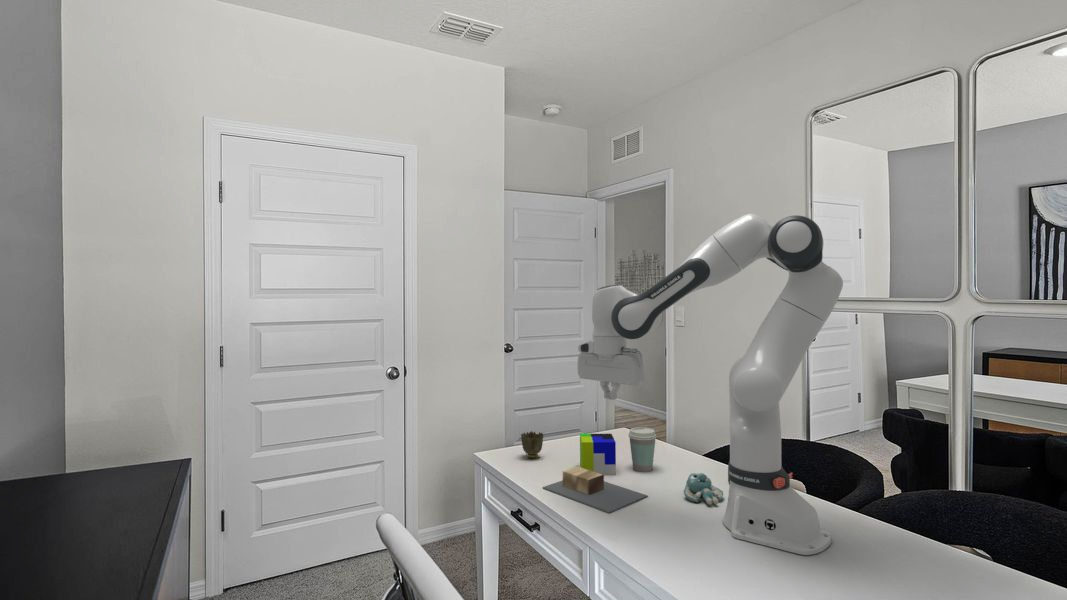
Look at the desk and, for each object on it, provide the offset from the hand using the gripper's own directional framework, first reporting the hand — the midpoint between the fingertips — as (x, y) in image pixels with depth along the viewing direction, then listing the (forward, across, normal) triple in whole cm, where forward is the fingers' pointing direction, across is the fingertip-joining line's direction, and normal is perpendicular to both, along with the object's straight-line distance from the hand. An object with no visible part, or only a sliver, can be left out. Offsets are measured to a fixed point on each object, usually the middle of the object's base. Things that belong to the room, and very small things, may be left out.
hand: (610, 398), depth 144 cm
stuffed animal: (+27, -16, -17) cm, 36 cm away
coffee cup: (+27, +9, -26) cm, 38 cm away
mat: (+26, +6, 0) cm, 27 cm away
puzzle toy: (+27, +18, -15) cm, 36 cm away
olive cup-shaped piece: (+26, +41, -9) cm, 50 cm away
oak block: (+24, +5, 0) cm, 25 cm away
